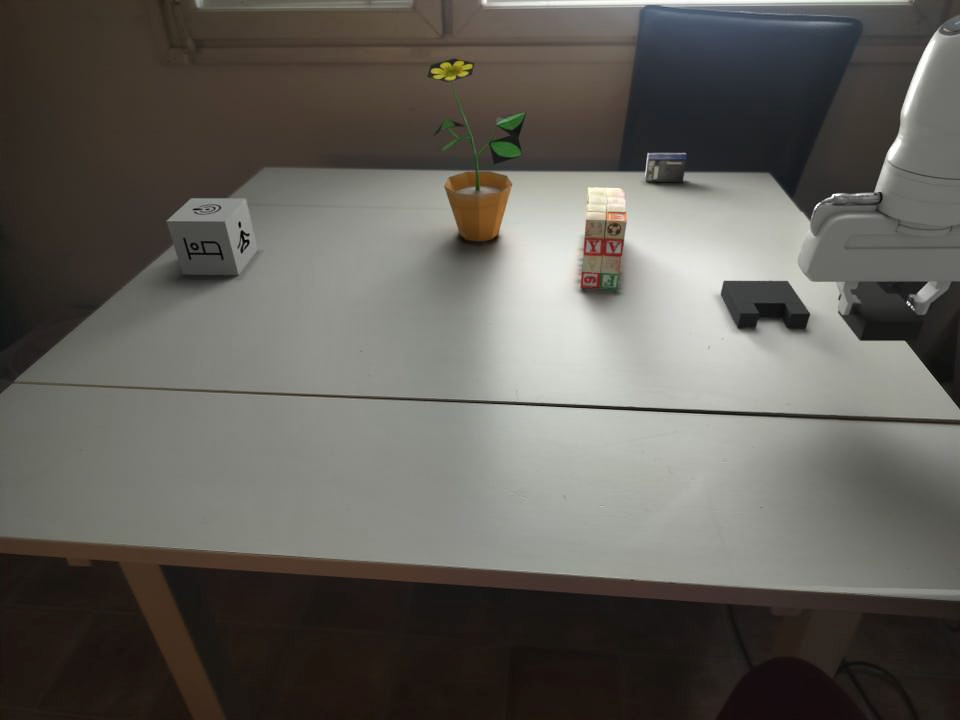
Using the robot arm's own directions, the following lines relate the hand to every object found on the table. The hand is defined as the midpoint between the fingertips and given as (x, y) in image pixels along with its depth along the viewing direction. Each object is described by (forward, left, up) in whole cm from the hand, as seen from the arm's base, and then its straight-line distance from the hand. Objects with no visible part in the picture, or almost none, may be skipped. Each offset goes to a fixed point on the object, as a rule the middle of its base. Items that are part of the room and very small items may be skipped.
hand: (880, 312), depth 74 cm
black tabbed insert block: (0, -1, -2) cm, 2 cm away
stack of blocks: (+25, -42, -15) cm, 51 cm away
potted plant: (+47, -53, -15) cm, 73 cm away
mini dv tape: (+7, -81, -15) cm, 83 cm away
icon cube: (+93, -41, -15) cm, 103 cm away
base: (+2, -25, -15) cm, 29 cm away
